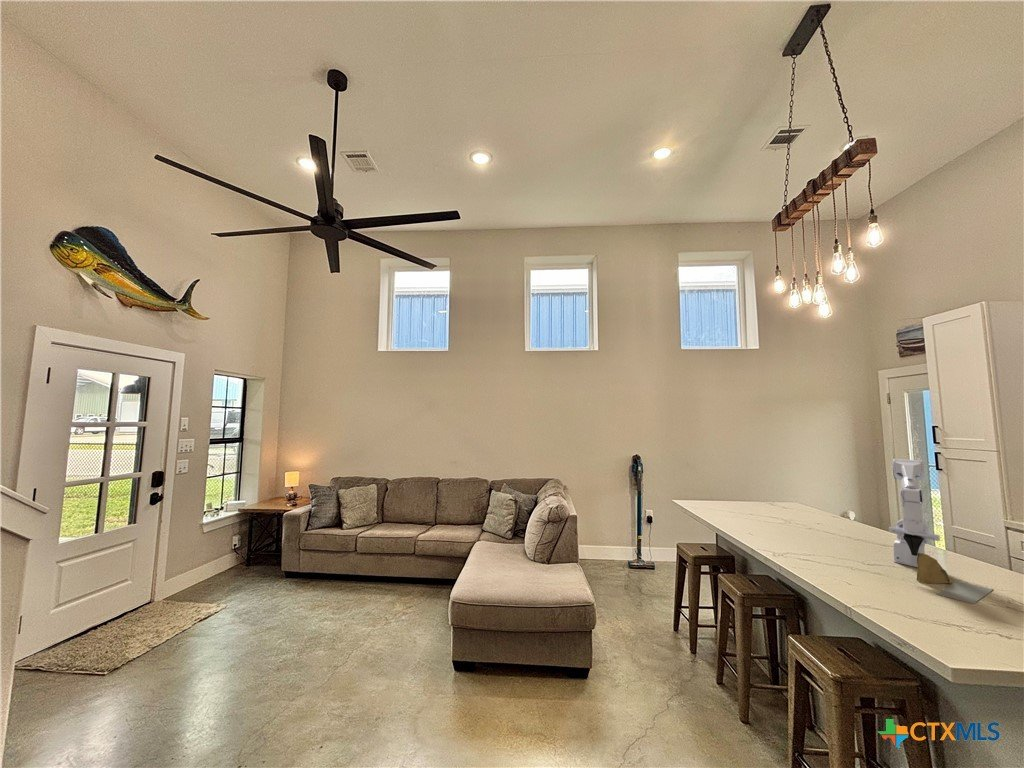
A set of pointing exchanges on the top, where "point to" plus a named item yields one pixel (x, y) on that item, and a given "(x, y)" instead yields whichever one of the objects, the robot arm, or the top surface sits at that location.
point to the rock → (930, 570)
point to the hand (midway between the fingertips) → (914, 555)
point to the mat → (965, 592)
